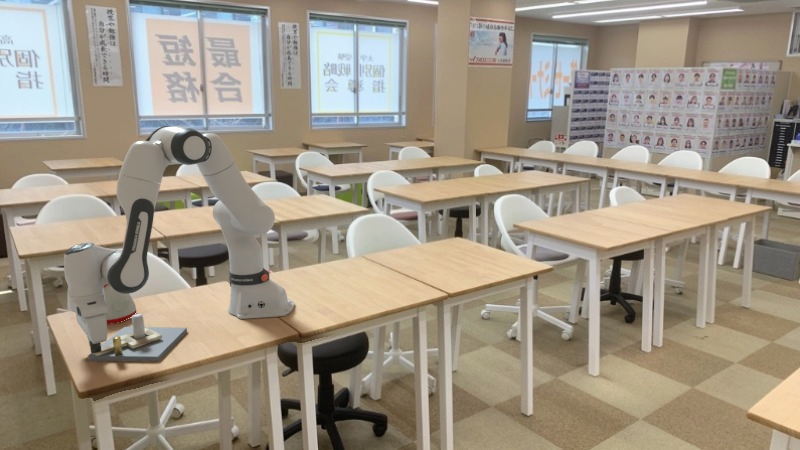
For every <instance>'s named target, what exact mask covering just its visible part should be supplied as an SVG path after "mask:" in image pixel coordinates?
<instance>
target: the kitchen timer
mask: <svg viewBox="0 0 800 450" xmlns="http://www.w3.org/2000/svg"><path fill="white" fill-rule="evenodd" d="M104 294H105V301H106V304H107V308H108V312H107V313H105V314H106V319H107V325H111V324H110V323H115V324H118V323H117V322H120V323H122V322H121V321H124V320H126V319H128V318H130V317H132V316H133V315H135V313H136V312H137V307H136V304H135V303H136V302H135V301H134V299H133V297H132V295H131V293H129V294H123V293H119V292H117V291H116V290H114V289H113V288H112V286H111V285H110V284H106V285H104ZM136 314H137V313H136ZM124 322H125V321H124Z"/></svg>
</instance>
